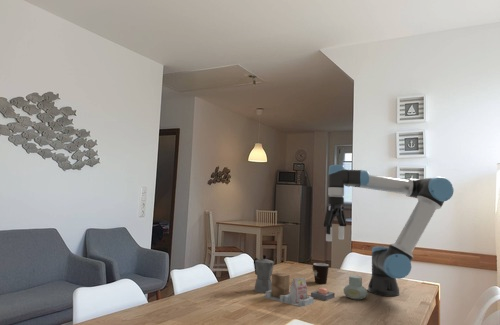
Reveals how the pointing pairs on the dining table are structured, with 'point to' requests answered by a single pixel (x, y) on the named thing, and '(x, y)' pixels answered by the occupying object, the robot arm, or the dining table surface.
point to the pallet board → (287, 299)
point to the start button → (322, 291)
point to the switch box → (322, 295)
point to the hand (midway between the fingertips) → (335, 240)
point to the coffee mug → (320, 273)
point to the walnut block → (279, 285)
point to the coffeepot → (263, 274)
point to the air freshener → (355, 288)
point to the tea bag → (298, 290)
